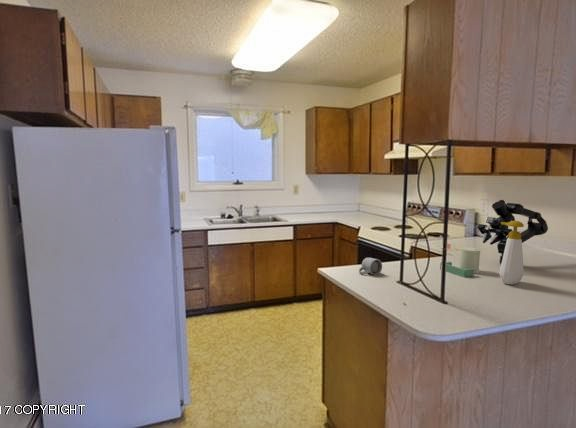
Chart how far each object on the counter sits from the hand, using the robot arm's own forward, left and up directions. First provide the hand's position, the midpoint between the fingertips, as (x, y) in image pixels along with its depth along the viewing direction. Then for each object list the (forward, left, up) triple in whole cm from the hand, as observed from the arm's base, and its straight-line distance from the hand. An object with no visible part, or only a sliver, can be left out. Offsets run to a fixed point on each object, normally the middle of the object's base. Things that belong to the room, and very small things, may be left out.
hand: (486, 243), depth 185 cm
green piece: (+14, +15, -14) cm, 24 cm away
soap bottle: (-8, +22, -14) cm, 27 cm away
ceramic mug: (+54, +36, -14) cm, 66 cm away
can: (+8, +8, -14) cm, 18 cm away
